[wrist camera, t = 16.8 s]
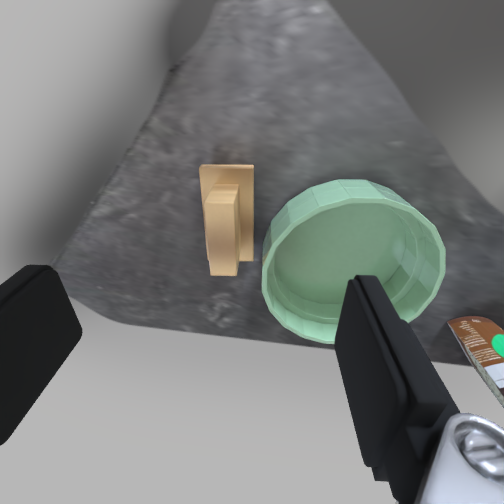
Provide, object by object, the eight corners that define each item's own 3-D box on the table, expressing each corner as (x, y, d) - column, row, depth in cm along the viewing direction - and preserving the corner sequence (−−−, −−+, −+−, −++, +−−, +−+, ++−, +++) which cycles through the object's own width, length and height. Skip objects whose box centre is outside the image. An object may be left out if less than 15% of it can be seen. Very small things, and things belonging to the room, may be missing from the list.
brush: (203, 161, 28) (184, 183, 21) (254, 161, 28) (250, 184, 21) (211, 249, 33) (197, 288, 26) (254, 250, 33) (251, 289, 26)
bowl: (264, 176, 28) (263, 196, 23) (437, 178, 28) (476, 199, 22) (261, 306, 37) (260, 341, 32) (393, 310, 36) (414, 347, 31)
